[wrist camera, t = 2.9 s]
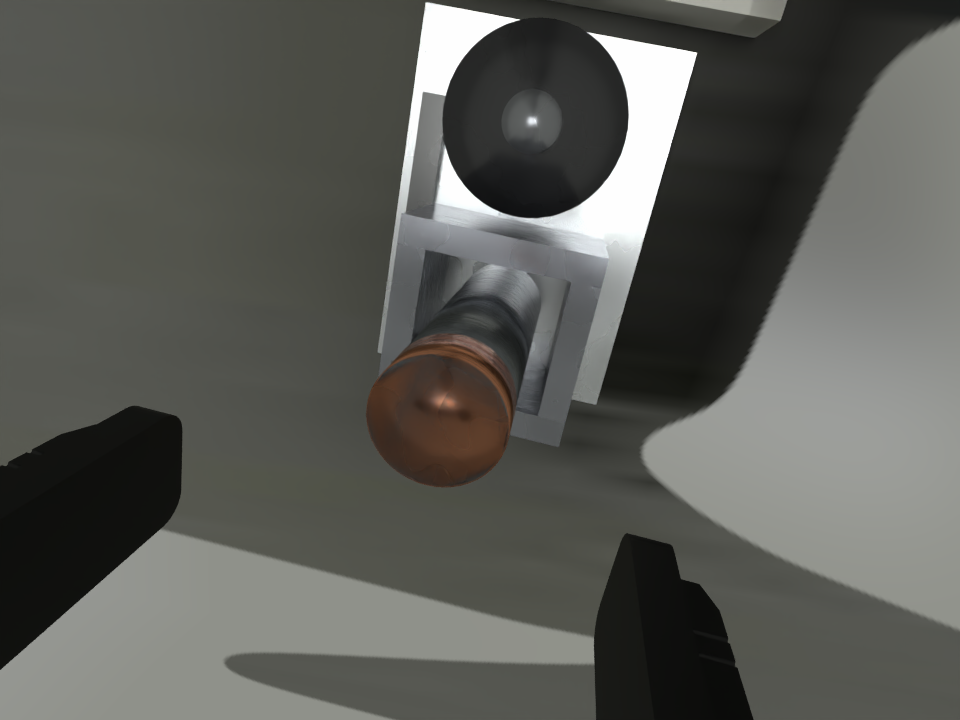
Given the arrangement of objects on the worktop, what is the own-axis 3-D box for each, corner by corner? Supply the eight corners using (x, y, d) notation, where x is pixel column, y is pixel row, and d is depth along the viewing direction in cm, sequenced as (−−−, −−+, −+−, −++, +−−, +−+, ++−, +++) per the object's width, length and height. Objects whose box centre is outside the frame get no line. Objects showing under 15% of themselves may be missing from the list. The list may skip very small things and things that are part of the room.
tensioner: (433, 9, 23) (386, -38, 17) (691, 58, 22) (728, 25, 17) (385, 344, 28) (336, 392, 22) (595, 394, 27) (599, 457, 21)
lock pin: (468, 254, 25) (375, 337, 13) (549, 272, 24) (523, 373, 13) (454, 332, 26) (358, 467, 15) (531, 350, 26) (493, 501, 14)
